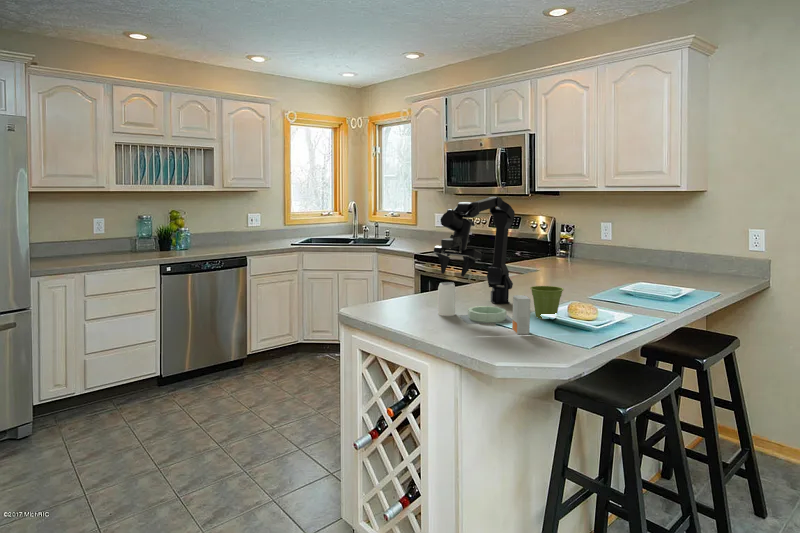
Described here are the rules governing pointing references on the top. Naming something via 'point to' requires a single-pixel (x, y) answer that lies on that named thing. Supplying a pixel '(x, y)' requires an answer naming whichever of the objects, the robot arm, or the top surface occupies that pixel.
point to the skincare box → (521, 314)
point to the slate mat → (468, 321)
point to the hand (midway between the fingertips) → (452, 275)
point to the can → (446, 299)
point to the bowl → (487, 314)
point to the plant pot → (546, 299)
